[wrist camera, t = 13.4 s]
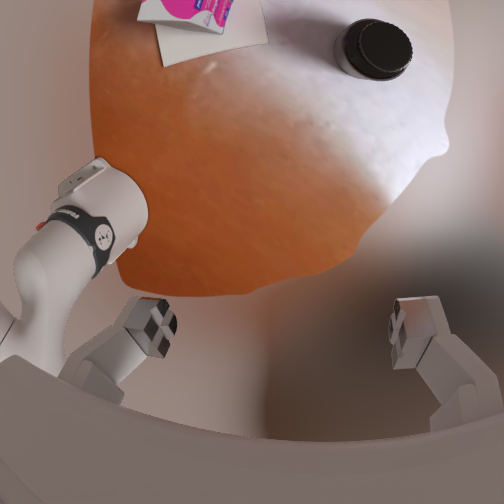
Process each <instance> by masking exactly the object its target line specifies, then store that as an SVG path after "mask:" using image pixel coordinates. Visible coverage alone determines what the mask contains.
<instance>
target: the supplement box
mask: <svg viewBox="0 0 504 504" xmlns="http://www.w3.org/2000/svg"><path fill="white" fill-rule="evenodd" d="M232 3H233V0H142V3H141V6H140V10H139V14H138V17H137V21H141V22H147V23H153V24H158V25H163V26H168V27H172V28H177V29H182V30H190V31H199V32H207V33H213V34H221V35H222V34H223V31H224V27H225V23H226V20H227V17H228V14H229V11H230V8H231V5H232Z"/></svg>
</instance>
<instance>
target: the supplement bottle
mask: <svg viewBox="0 0 504 504" xmlns="http://www.w3.org/2000/svg"><path fill="white" fill-rule="evenodd" d="M412 54H413V52H412V46H411V42H410V41H409V38H408V37H407V35H406V34H405V33H404V32H403V31H402V30H401V29H399V28H398V27H397V26H394V25H393V24H389V23H388V22H384V21H381V20H377V19H361V20H358V21H356V22H354V23H352V24H351V25H350V26H349V27H348V28H346V29H345V30H344V31H343V32H342V34H341V35H340V36H339V37H338V38H337V40H336V42H335V45H334V56H335V59H336V61H337V63H338V65H339V66H340V67H341V68H342V69H343V70H344V71H345V72H346V73H347V74H349V75H351V76H353V77H355V78H359V79H365V80H373V81H389V80H393V79H395V78H397V77H399V76H400V75H401V74H402V73H403V72H404V71H405V69H406V67H407V66H408V65H409V63H410V62H411V59H412Z"/></svg>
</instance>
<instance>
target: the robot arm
mask: <svg viewBox="0 0 504 504" xmlns="http://www.w3.org/2000/svg"><path fill="white" fill-rule="evenodd" d="M58 192H59V198H58V199H57V200H55V201H54V202H53V203H52V206H51V212H52V214H51V215H50V216H49V217H48V220H47V221H46V222H42V223H40V224H39V225H38V226H37V227H36V230H37V231H38V232H37V233H36V234H35V235H34V236H33V237H32V238H31V239H30V240H29V241H28V242H27V243H26V244H25V245H24V246H23V247H22V248H21V249H20V250H19V251H18V253H17V256H16V258H15V262H14V276H15V281H16V285H17V288H18V291H19V293H20V297H21V301H22V314H21V318H20V320H18V319H17V318H16V317H15V318H14V316H13V315H12V314H11V313H10V312H9V310H8V309H7V308H6V307H5V306H4V305H3V304H2V303H1V301H0V504H504V409H503V403H502V398H501V393H500V389H499V384H498V380H497V376H496V375H495V374H494V373H493V372H492V371H491V370H490V368H489V367H488V366H487V365H486V364H485V363H484V362H483V361H482V360H481V359H480V358H479V357H478V356H477V355H476V354H475V353H474V352H473V351H472V350H471V349H470V348H469V347H468V346H467V345H465V343H463V342H462V341H461V340H460V339H459V338H458V337H457V336H456V335H455V334H451V333H450V330H449V327H448V323H447V320H446V317H445V314H444V311H443V308H442V305H441V302H440V300H439V297H437V296H427V297H413V298H400V299H396V300H395V303H394V306H393V307H394V313H393V314H392V315H391V318H390V322H389V339H390V342H391V343H392V344H393V345H394V347H393V350H392V353H391V354H392V362H393V369H405V368H416V370H417V371H418V372H419V374H420V375H421V377H422V378H423V379H424V381H425V382H426V383H427V385H428V386H429V388H430V389H431V391H432V392H433V393H434V395H435V396H436V398H437V399H438V401H439V402H440V403H441V405H442V406H441V407H440V408H439V409H438V410H437V411H436V412H435V413H434V414H433V415H432V416H431V417H430V429H431V432H429V433H424V434H418V435H413V436H406V437H399V438H391V439H381V440H370V441H354V442H299V441H283V440H270V439H260V438H253V437H245V436H238V435H232V434H226V433H220V432H215V431H209V430H205V429H200V428H196V427H191V426H187V425H183V424H179V423H175V422H171V421H168V420H164V419H160V418H157V417H154V416H150V415H147V414H144V413H141V412H138V411H135V410H132V409H129V408H126V407H124V406H121V405H120V404H121V402H122V400H123V397H124V392H123V391H122V390H121V389H120V388H119V387H118V386H117V385H118V384H119V383H120V382H121V381H122V380H123V379H124V378H125V377H127V376H128V374H130V372H132V371H133V370H134V369H135V368H136V367H137V366H138V365H139V364H140V363H141V362H142V361H143V360H145V359H146V358H147V356H151V357H157V358H165V356H166V354H167V352H168V349H169V347H170V342H169V340H170V339H171V338H172V337H174V335H175V333H176V330H177V318H176V316H175V314H174V313H173V312H172V311H171V310H169V306H170V305H169V303H168V302H167V300H166V299H161V298H150V297H138V296H133V297H131V298H130V299H129V300H128V302H127V303H126V305H125V307H124V308H123V310H122V311H121V313H120V315H119V316H118V318H117V320H116V321H115V323H114V325H113V326H109V327H107V328H106V329H105V330H103V331H102V332H100V333H99V334H97V335H96V336H94V337H93V338H92V339H90V340H89V341H88V342H86V343H85V344H83V345H82V346H81V347H79V348H78V349H76V350H75V351H74V352H72V353H71V354H70V356H69V357H68V359H67V361H66V359H65V354H64V333H65V326H66V321H67V318H68V315H69V313H70V311H71V308H72V307H73V305H74V303H75V301H76V300H77V298H78V296H79V295H80V293H81V292H82V290H83V289H84V287H85V286H86V284H87V283H88V282H89V280H90V279H93V278H95V276H97V274H99V273H100V272H101V271H102V269H103V268H104V266H105V265H106V264H111V263H113V262H114V261H115V260H116V259H117V258H118V257H119V256H120V254H121V253H122V252H123V251H124V250H125V249H126V248H133V247H134V246H135V245H136V244H137V240H138V235H139V234H140V233H141V231H142V230H143V229H144V228H145V226H146V223H147V219H148V208H147V204H146V200H145V198H144V195H143V193H142V192H141V190H140V188H139V187H138V186H137V184H136V183H135V182H134V181H133V180H132V179H131V178H130V177H129V176H128V175H126V174H125V173H123V172H121V171H119V170H117V169H115V168H113V167H111V166H110V165H109V164H108V163H107V162H106V161H105V160H104V159H103V158H101V157H97V158H96V159H94V160H93V161H91V162H90V163H88V164H87V165H86V166H84V167H82V168H81V169H80V170H78V171H77V172H75V173H74V174H73V175H71V176H70V177H68V178H67V179H66V180H65V181H63V182H62V183H61V184H60V185H59V186H58Z"/></svg>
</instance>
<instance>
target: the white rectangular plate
mask: <svg viewBox="0 0 504 504" xmlns="http://www.w3.org/2000/svg"><path fill="white" fill-rule="evenodd" d="M155 26H156V31H157V36H158V41H159V46H160V51H161V56H162V60H163V65H164V67H167V66H170V65H173V64H177V63H180V62H183V61H187V60H190V59H194V58H198V57H202V56H205V55H210V54H214V53H218V52H223V51H227V50H232V49H237V48H243V47H249V46H255V45H262V44H269V40H268V35H267V30H266V25H265V20H264V15H263V10H262V5H261V1H260V0H233V3H232V5H231V8H230V11H229V14H228V17H227V20H226V23H225V27H224V31H223V34H222V35H221V34H213V33H207V32H199V31H190V30H182V29H177V28H172V27H168V26H163V25H158V24H155Z"/></svg>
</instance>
